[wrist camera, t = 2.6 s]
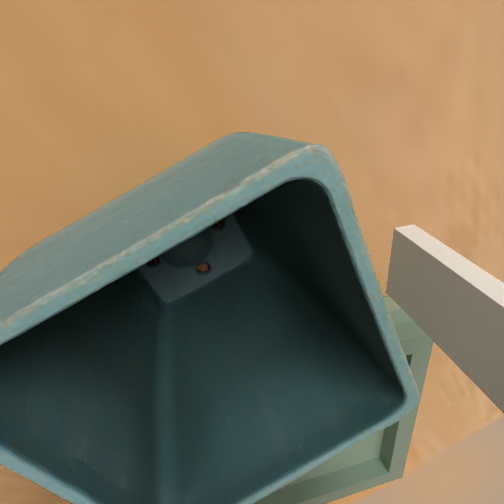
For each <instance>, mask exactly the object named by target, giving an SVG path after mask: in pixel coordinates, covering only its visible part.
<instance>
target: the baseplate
mask: <svg viewBox="0 0 504 504" xmlns="http://www.w3.org/2000/svg"><path fill="white" fill-rule="evenodd" d="M384 300H385V302H386V305H387V307H388V309H389V312H390V317H391V319H392V321H393V325H394V327H395V330H396V333H397V335H398V337H399V340H400V344H401V346H402V349H403V351H404V353H405V355H406V358H407V362H408V364H409V367H410V369H411V372H412V374H413V378H414V380H415V381H416V384H417V387H418V390H419V394H420V398H421V393H422V389H423V385H424V381H425V376H426V372H427V368H428V363H429V359H430V355H431V350H432V346H433V342H434V341H433V340H432V339H431V338H430V337H429V336H428V335H427V334H426V333H425V332H424V331H423V330H422V329H421V328H420V327H419V326H418V325H417V324H416V323H415V322H414V321H413V320H412V319H411V318H410V317H409V316H408V315H407V314H406V313H405V312H404V310H403V309H402V308H401V307H400V306H399V305H398V304H397V303H396V302H395V301H394V300H393V299H392V298H391V297H390V296H387V297H384ZM418 406H419V405H418ZM418 406H417V407H416V408H415V409H414V410H413V411H411V412H410V413H408V414H407V415H406V416H405V417H403V418H402V419H400V420H399V421H397V422H396V423H394V424H392V425H390V426H389V427H386V428H384V429H383V430H381V431H379V432H377V433H375V434H374V435H372V436H370V437H368V438H366V439H365V440H363V441H361V442H359V443H358V444H356V445H354V446H352V447H350V448H349V449H347V450H345V451H343V452H341V453H339V454H338V455H336V456H334V457H333V458H331V459H329V460H328V461H326V462H324V463H323V464H321V465H319V466H318V467H316V468H314V469H312V470H310V471H309V472H307V473H306V474H304V475H303V476H301V477H299V478H297V479H295V480H294V481H292V482H290V483H288V484H286V485H284V486H283V487H281V488H280V489H278V490H276V491H274V492H272V493H271V494H269V495H268V496H266V497H263V498H262V499H260V500H258V501H256V502H255V503H253V504H325V503H328V502H331V501H334V500H337V499H340V498H343V497H346V496H349V495H351V494H354V493H357V492H360V491H363V490H366V489H369V488H372V487H375V486H378V485H381V484H384V483H387V482H390V481H393V480H396V479H399V478H402V476H403V471H404V467H405V463H406V458H407V454H408V450H409V445H410V441H411V437H412V432H413V428H414V424H415V419H416V415H417V411H418Z"/></svg>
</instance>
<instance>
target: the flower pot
mask: <svg viewBox="0 0 504 504" xmlns="http://www.w3.org/2000/svg"><path fill="white" fill-rule="evenodd" d="M221 219H223V224H222V225H221V226H220V227H214V226H213V224H214V223H216V222H218V221H220V220H221ZM156 257H158V258H159V260H158V262H157V263H156V264H148V263H147V262H149V261H151V260H152V259H154V258H156ZM200 263H207V264H208V265H209V269H208V270H207V271H205V272H201V271H199V270H198V265H199V264H200ZM419 402H420V394H419V390H418V387H417V384H416V381H415V380H414V378H413V374H412V372H411V369H410V367H409V364H408V362H407V358H406V355H405V353H404V351H403V349H402V346H401V344H400V340H399V337H398V335H397V333H396V330H395V327H394V325H393V321H392V319H391V317H390V312H389V309H388V307H387V305H386V302H385V300H384V297H383V294H382V291H381V289H380V285H379V282H378V280H377V278H376V273H375V271H374V269H373V266H372V262H371V259H370V256H369V254H368V251H367V247H366V244H365V241H364V239H363V236H362V234H361V229H360V227H359V224H358V219H357V217H356V215H355V212H354V209H353V203H352V200H351V197H350V194H349V191H348V188H347V185H346V182H345V178H344V175H343V173H342V171H341V169H340V167H339V165H338V163H337V161H336V160H335V158H334V156H333V155H332V153H331V152H330V150H329V149H328V148H327V147H326V146H322V145H317V144H311V143H305V142H300V141H295V140H290V139H285V138H280V137H275V136H269V135H263V134H257V133H249V132H238V133H232V134H229V135H226V136H224V137H222V138H220V139H218V140H216V141H214V142H212V143H210V144H208V145H207V146H205V147H203V148H202V149H200V150H198V151H197V152H195V153H193V154H192V155H190V156H188V157H187V158H185V159H183V160H181V161H180V162H178V163H176V164H175V165H173V166H171V167H169V168H168V169H166V170H164V171H163V172H161V173H159V174H157V175H156V176H154V177H152V178H151V179H149V180H147V181H145V182H144V183H142V184H140V185H139V186H137V187H135V188H133V189H132V190H130V191H128V192H127V193H125V194H123V195H121V196H120V197H118V198H116V199H114V200H113V201H111V202H109V203H107V204H106V205H104V206H102V207H100V208H99V209H97V210H95V211H93V212H92V213H90V214H88V215H86V216H85V217H83V218H81V219H79V220H78V221H76V222H74V223H72V224H71V225H69V226H67V227H65V228H63V229H62V230H60V231H58V232H56V233H54V234H52V235H51V236H49V237H47V238H45V239H43V240H42V241H40V242H39V243H37V244H35V245H34V246H32V247H31V248H29V249H28V250H26V251H25V252H24V253H22V254H21V255H20V256H18V257H17V258H16V259H15V260H13V261H12V262H11V263H10V264H9V265H8V266H7V267H6V268H5V269H4V270H3V271H2V272H1V273H0V465H2V466H4V467H5V468H7V469H9V470H11V471H12V472H13V473H17V474H19V475H20V476H22V477H23V478H27V479H29V480H31V481H32V482H34V483H35V484H37V485H39V486H40V487H43V488H45V489H47V490H49V491H50V492H52V493H53V494H56V495H58V496H59V497H61V498H63V499H65V500H67V501H69V502H71V503H73V504H253V503H255V502H256V501H258V500H260V499H262V498H263V497H266V496H268V495H269V494H271V493H272V492H274V491H276V490H278V489H280V488H281V487H283V486H284V485H286V484H288V483H290V482H292V481H294V480H295V479H297V478H299V477H301V476H303V475H304V474H306V473H307V472H309V471H310V470H312V469H314V468H316V467H318V466H319V465H321V464H323V463H324V462H326V461H328V460H329V459H331V458H333V457H334V456H336V455H338V454H339V453H341V452H343V451H345V450H347V449H349V448H350V447H352V446H354V445H356V444H358V443H359V442H361V441H363V440H365V439H366V438H368V437H370V436H372V435H374V434H375V433H377V432H379V431H381V430H383V429H384V428H386V427H389V426H390V425H392V424H394V423H396V422H397V421H399V420H400V419H402V418H403V417H405V416H406V415H407V414H408V413H410V412H411V411H413V410H414V409H415V408H416V407H417V406H418V405H419Z"/></svg>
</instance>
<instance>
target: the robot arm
mask: <svg viewBox="0 0 504 504" xmlns="http://www.w3.org/2000/svg"><path fill="white" fill-rule="evenodd" d="M386 293H387V294H388V295H389V296H390V297H391V298H392V299H393V300H394V301H395V302H396V303H397V304H398V305H399V306H400V307H401V308H402V309H403V310H404V312H405V313H406V314H407V315H408V316H409V317H410V318H411V319H412V320H413V321H414V322H415V323H416V324H417V325H418V326H419V327H420V328H421V329H422V330H423V331H424V332H425V333H426V334H427V335H428V336H429V337H430V338H431V339H432V340H433V341H434V342H435V343H436V344H437V345H438V346H439V347H440V348H441V349H442V350H443V351H444V352H445V353H446V355H447V356H448V357H449V358H450V359H451V360H452V361H453V362H454V363H455V364H456V365H457V366H458V367H459V368H460V369H461V370H462V371H463V372H464V373H465V374H466V375H467V376H468V377H469V378H470V379H471V380H472V381H473V382H474V383H475V384H476V385H477V386H478V387H479V388H480V389H481V390H482V391H483V392H484V393H485V394H486V395H487V397H488V398H489V399H490V400H491V401H492V402H493V403H494V404H495V405H496V406H497V407H498V408H499V409H500V410H501V411H502V412H503V413H504V283H503V282H501V281H500V280H498V279H497V278H495V277H494V276H492V275H490V274H489V273H487V272H486V271H484V270H483V269H481V268H480V267H478V266H477V265H475V264H474V263H472V262H471V261H469V260H468V259H466V258H464V257H463V256H461V255H460V254H458V253H457V252H455V251H454V250H452V249H451V248H449V247H448V246H446V245H445V244H443V243H442V242H440V241H438V240H437V239H435V238H434V237H432V236H431V235H429V234H428V233H426V232H425V231H423V230H422V229H420V228H419V227H417V226H416V225H408V226H403V227H398V228H394V234H393V242H392V249H391V257H390V265H389V273H388V281H387V289H386Z"/></svg>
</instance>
